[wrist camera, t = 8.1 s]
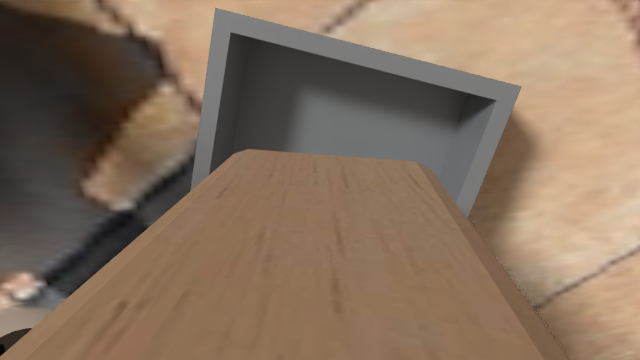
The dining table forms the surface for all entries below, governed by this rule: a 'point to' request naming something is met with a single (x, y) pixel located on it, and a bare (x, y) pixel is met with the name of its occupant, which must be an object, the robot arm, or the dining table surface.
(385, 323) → the block
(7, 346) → the robot arm
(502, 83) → the box
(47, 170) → the dining table surface
